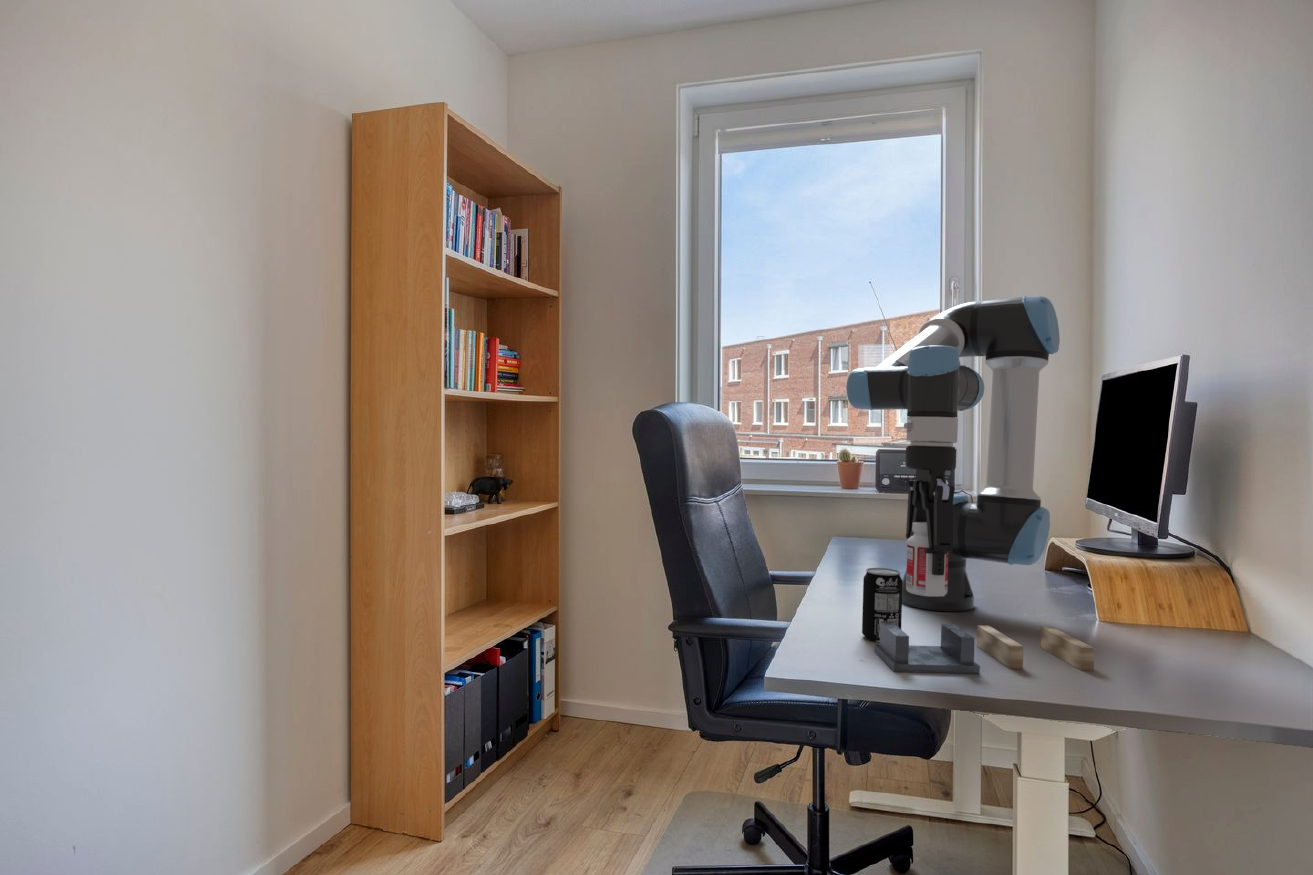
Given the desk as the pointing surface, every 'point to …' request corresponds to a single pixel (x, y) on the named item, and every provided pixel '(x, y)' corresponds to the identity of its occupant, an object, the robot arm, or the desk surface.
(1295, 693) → the desk surface
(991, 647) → the guide channel
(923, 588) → the pill bottle
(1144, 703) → the desk surface
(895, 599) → the beverage can
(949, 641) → the cradle
